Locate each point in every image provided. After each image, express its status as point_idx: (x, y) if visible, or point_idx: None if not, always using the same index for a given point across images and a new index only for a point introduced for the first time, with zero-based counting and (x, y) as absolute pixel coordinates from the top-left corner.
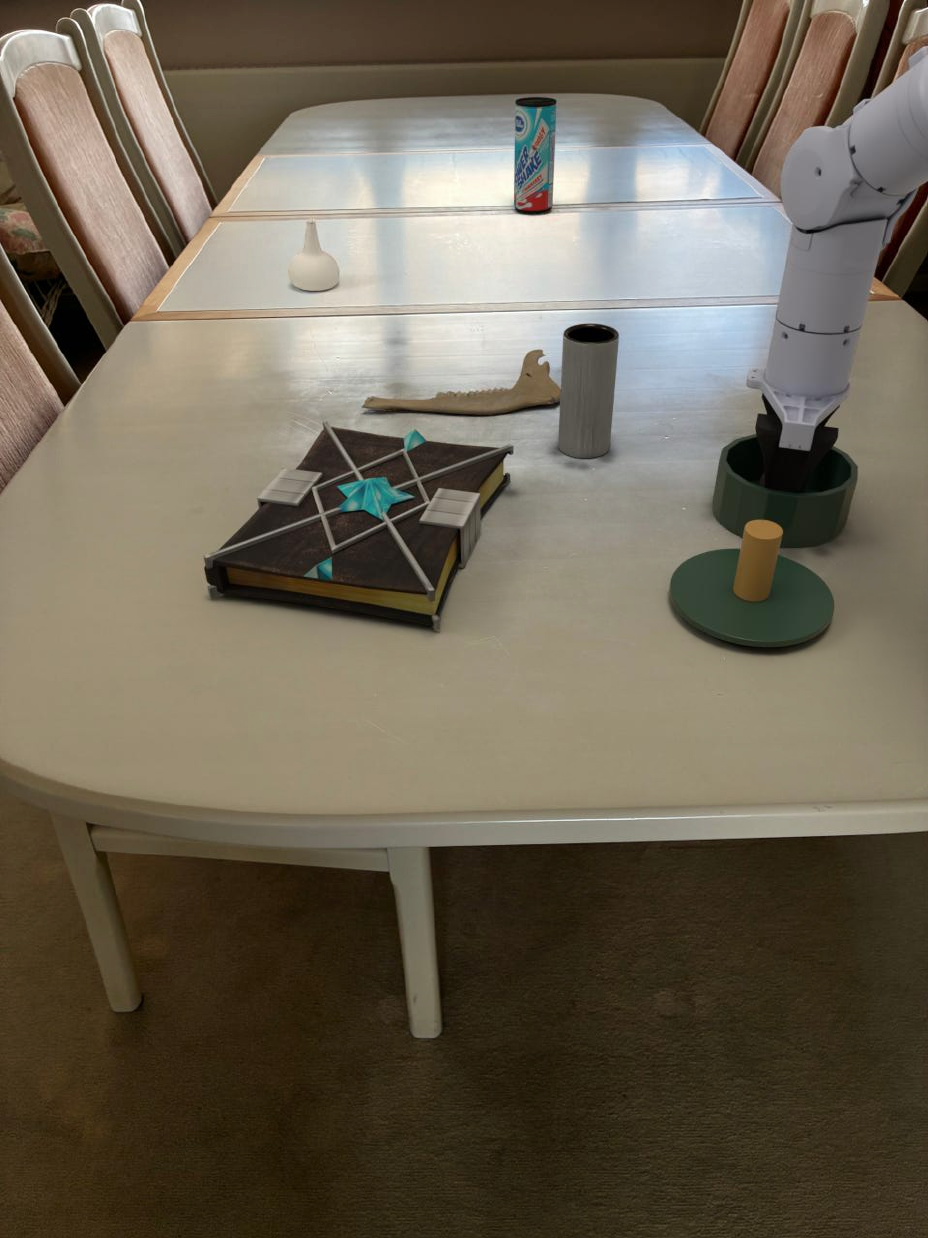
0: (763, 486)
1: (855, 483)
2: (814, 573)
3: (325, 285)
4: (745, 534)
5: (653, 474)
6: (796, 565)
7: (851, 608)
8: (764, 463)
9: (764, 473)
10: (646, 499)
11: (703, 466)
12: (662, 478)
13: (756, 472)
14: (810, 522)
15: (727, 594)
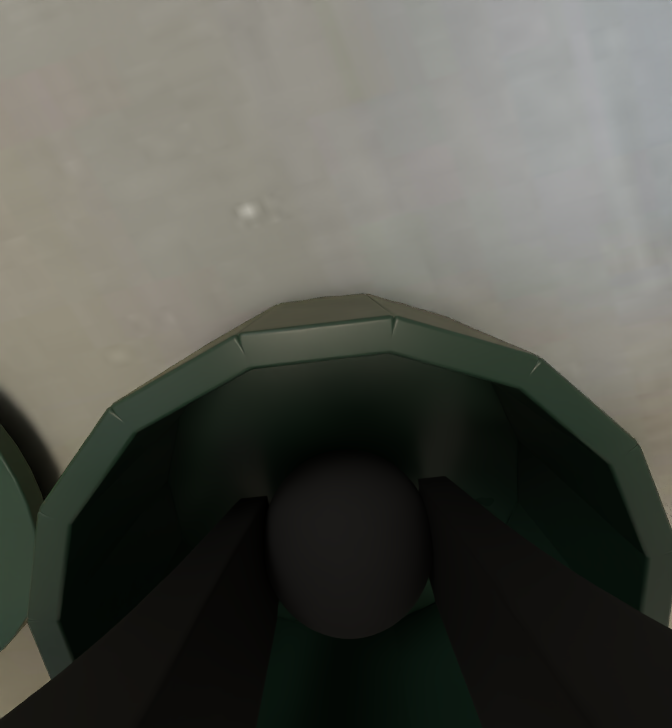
0: (287, 499)
1: None
2: (7, 641)
3: None
4: None
5: (457, 12)
6: (14, 601)
7: (10, 678)
8: (86, 652)
9: (155, 588)
10: (249, 49)
11: (577, 198)
12: (436, 63)
13: (511, 406)
14: None
15: None
